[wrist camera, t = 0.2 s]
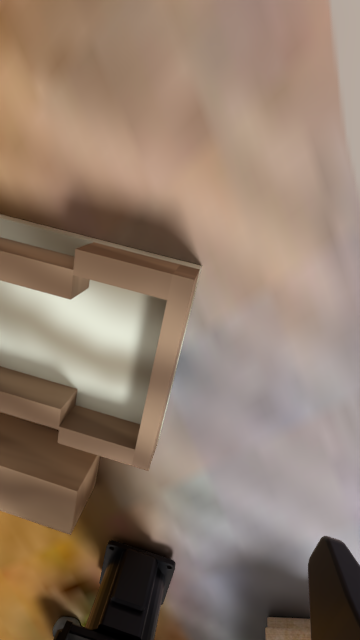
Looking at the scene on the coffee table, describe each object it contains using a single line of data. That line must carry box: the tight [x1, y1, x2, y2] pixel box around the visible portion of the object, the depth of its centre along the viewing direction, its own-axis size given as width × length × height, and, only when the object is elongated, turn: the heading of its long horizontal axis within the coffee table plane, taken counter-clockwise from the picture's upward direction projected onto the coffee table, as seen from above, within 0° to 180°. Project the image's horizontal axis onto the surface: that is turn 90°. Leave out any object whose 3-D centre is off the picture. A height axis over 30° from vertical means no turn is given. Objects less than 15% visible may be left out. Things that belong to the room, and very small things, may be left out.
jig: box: [0, 214, 202, 471], centre depth 23 cm, size 14×24×4 cm, turn 78°
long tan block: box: [0, 413, 100, 535], centre depth 27 cm, size 5×14×5 cm, turn 76°
